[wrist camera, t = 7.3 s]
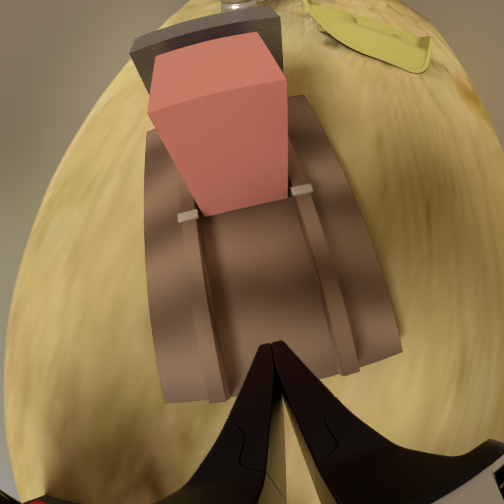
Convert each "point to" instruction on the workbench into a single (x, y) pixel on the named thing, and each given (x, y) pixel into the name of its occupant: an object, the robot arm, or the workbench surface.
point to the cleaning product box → (48, 501)
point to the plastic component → (374, 37)
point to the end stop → (207, 36)
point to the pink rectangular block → (224, 121)
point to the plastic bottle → (237, 5)
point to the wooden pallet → (262, 273)
